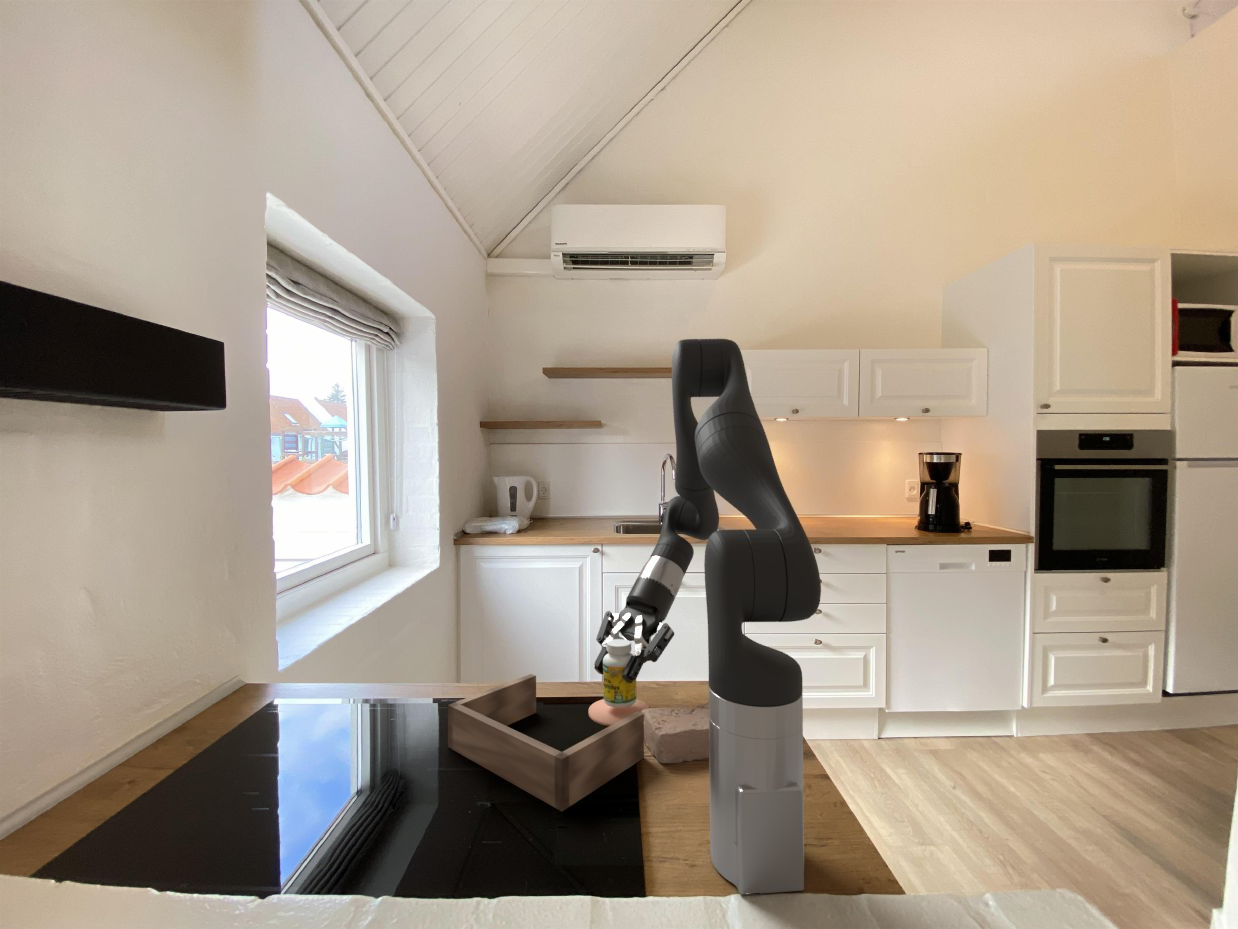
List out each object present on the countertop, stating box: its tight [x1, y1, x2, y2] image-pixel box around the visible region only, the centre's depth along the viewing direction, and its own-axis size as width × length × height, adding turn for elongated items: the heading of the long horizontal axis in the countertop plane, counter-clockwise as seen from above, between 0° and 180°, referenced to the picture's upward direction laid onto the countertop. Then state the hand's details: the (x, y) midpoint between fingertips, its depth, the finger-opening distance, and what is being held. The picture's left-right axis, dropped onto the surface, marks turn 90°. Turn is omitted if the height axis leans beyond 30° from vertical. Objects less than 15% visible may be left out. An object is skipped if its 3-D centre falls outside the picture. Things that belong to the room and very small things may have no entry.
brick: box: [641, 702, 709, 764], centre depth 80 cm, size 16×8×5 cm, turn 107°
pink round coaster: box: [588, 698, 650, 727], centre depth 90 cm, size 10×10×1 cm
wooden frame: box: [447, 673, 645, 812], centre depth 77 cm, size 16×23×6 cm, turn 50°
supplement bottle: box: [602, 639, 638, 708], centre depth 90 cm, size 5×5×10 cm
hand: (612, 675), depth 88 cm, fingers closed on supplement bottle, 5 cm apart
